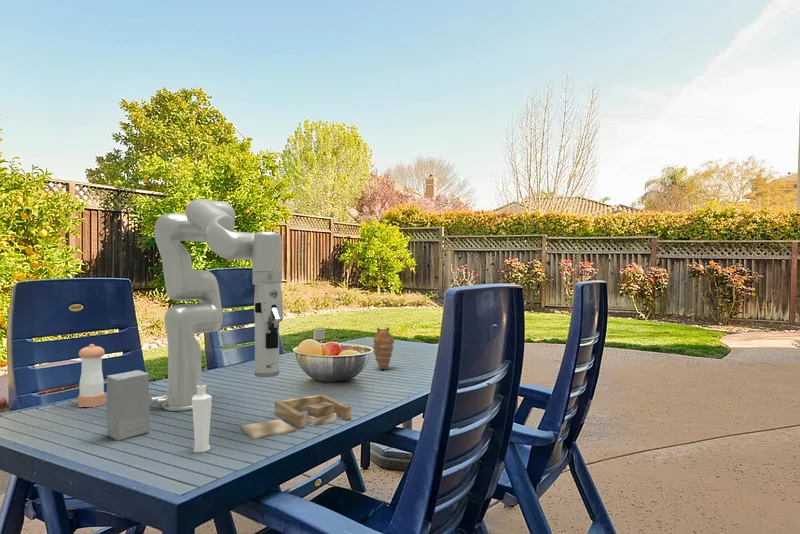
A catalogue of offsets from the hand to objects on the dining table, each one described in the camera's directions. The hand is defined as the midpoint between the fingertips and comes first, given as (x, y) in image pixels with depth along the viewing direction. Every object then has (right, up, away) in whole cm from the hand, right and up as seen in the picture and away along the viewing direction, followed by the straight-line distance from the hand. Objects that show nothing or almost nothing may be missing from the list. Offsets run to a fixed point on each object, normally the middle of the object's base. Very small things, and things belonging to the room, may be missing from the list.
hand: (267, 346), depth 137 cm
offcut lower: (+13, -23, +7) cm, 27 cm away
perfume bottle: (-12, -22, -15) cm, 29 cm away
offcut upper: (+13, -20, +7) cm, 25 cm away
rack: (+10, -22, +12) cm, 27 cm away
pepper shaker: (-62, -23, +26) cm, 71 cm away
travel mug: (0, -8, 0) cm, 8 cm away
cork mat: (0, -22, 0) cm, 22 cm away
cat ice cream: (+28, -23, +82) cm, 90 cm away
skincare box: (-35, -22, -4) cm, 41 cm away
